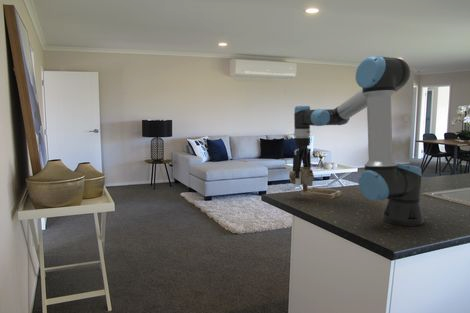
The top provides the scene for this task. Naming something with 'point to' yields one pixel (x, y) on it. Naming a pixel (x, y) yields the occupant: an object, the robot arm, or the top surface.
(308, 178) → the rock
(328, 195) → the wooden tray
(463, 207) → the top surface
